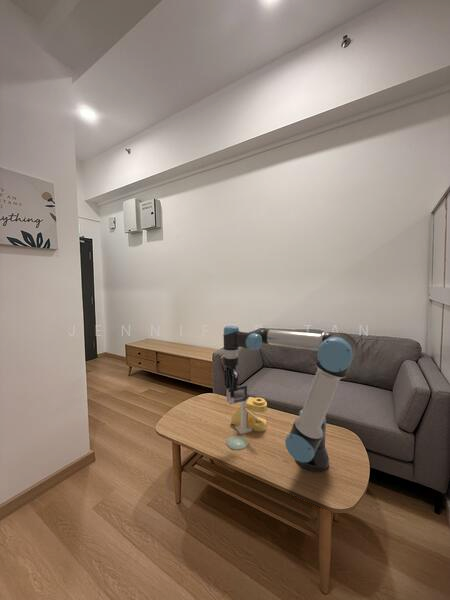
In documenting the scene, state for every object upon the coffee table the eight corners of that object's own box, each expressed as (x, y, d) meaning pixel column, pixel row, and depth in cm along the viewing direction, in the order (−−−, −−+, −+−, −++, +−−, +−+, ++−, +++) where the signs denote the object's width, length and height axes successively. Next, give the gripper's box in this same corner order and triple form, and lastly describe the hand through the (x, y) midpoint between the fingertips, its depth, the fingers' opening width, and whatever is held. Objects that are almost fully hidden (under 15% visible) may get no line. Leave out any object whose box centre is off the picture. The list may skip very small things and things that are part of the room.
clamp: (268, 425, 144) (269, 398, 143) (263, 433, 136) (263, 405, 135) (237, 416, 154) (238, 391, 153) (231, 423, 146) (231, 397, 145)
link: (246, 400, 128) (247, 385, 128) (229, 404, 124) (229, 389, 124) (245, 399, 130) (245, 384, 129) (228, 403, 126) (228, 387, 125)
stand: (264, 444, 127) (264, 410, 126) (253, 447, 124) (253, 413, 123) (245, 424, 145) (245, 395, 144) (235, 427, 142) (235, 397, 141)
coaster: (251, 446, 126) (251, 445, 126) (232, 452, 121) (232, 451, 121) (241, 434, 136) (241, 433, 136) (223, 439, 131) (223, 438, 131)
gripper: (244, 360, 118) (243, 407, 120) (231, 352, 132) (230, 394, 133) (230, 362, 115) (230, 410, 117) (218, 353, 128) (217, 397, 130)
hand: (230, 402), depth 125 cm, fingers closed on link, 1 cm apart
